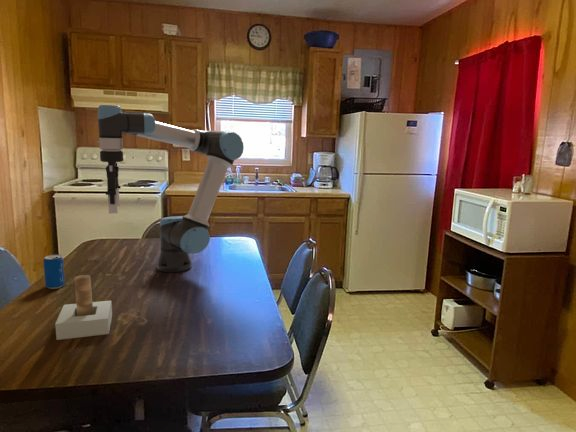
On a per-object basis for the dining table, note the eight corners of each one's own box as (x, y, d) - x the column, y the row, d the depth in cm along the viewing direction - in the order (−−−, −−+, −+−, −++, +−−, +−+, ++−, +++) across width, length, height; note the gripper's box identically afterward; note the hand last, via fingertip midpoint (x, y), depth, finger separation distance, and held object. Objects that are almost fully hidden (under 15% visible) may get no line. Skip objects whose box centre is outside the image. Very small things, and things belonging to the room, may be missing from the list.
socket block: (112, 314, 138) (111, 300, 137) (108, 333, 125) (108, 318, 124) (65, 319, 134) (63, 304, 133) (56, 339, 121) (55, 323, 120)
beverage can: (56, 290, 157) (54, 260, 154) (41, 288, 158) (39, 258, 155) (68, 284, 163) (66, 255, 160) (54, 282, 164) (51, 253, 162)
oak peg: (94, 322, 132) (91, 274, 129) (93, 328, 128) (89, 279, 125) (79, 323, 131) (75, 275, 128) (77, 330, 127) (73, 280, 124)
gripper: (103, 148, 157) (106, 203, 161) (95, 152, 134) (99, 216, 138) (124, 148, 159) (126, 203, 163) (121, 152, 136) (124, 215, 140)
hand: (114, 209), depth 151 cm, fingers open, 13 cm apart
